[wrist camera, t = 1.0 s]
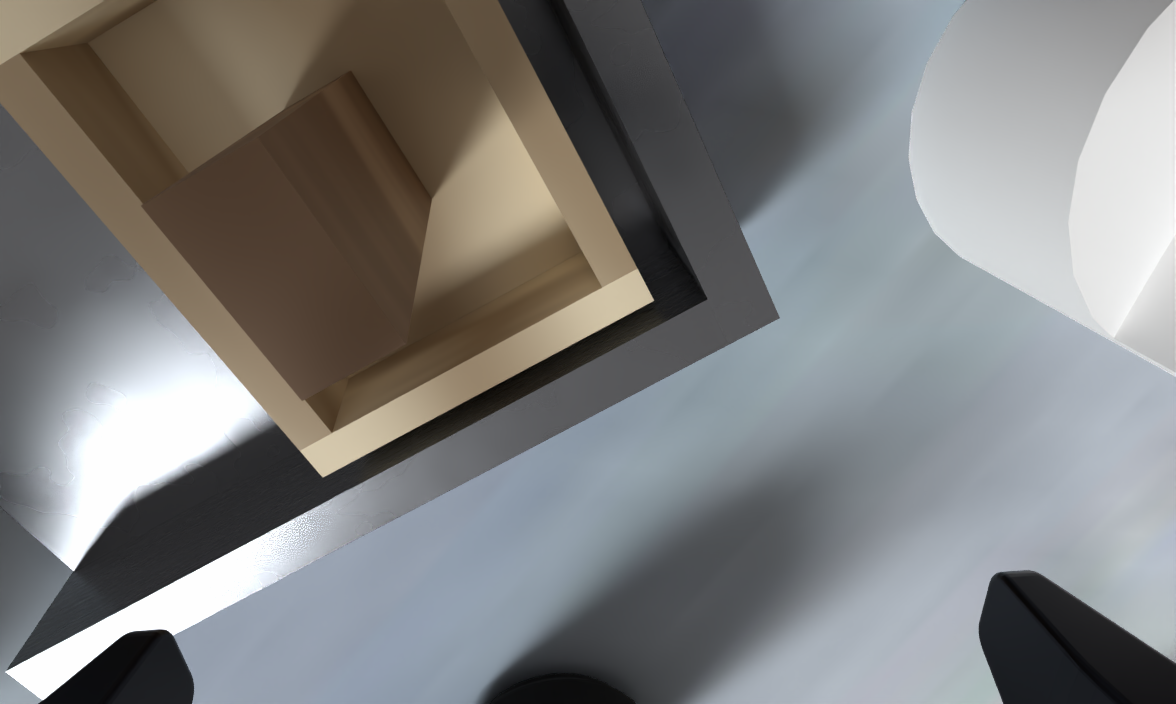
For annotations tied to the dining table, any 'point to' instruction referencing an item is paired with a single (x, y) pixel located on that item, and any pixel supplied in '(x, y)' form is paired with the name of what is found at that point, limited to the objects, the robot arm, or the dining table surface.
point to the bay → (245, 430)
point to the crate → (329, 194)
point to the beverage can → (562, 691)
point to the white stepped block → (1059, 157)
